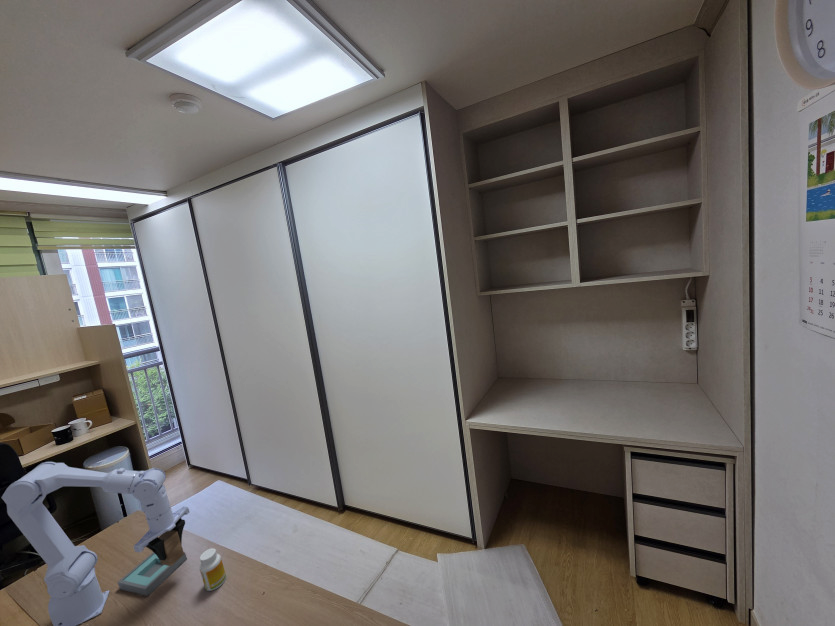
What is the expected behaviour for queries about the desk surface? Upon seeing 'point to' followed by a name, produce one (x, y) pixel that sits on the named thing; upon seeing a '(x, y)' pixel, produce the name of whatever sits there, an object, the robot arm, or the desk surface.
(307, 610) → the desk surface
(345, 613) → the desk surface
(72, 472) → the robot arm
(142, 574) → the socket box
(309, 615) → the desk surface
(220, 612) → the desk surface
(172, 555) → the peg
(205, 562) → the supplement bottle
